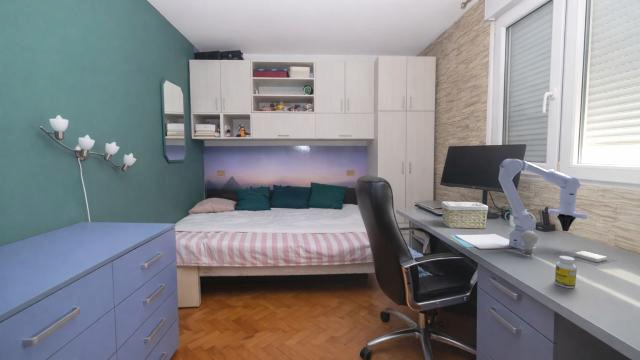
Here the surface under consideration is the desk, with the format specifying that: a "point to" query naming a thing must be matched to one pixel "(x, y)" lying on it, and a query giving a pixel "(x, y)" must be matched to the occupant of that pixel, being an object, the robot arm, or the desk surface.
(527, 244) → the lightbulb
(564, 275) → the supplement bottle
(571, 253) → the mat
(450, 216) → the storage basket
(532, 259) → the desk surface
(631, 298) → the desk surface
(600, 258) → the tile
